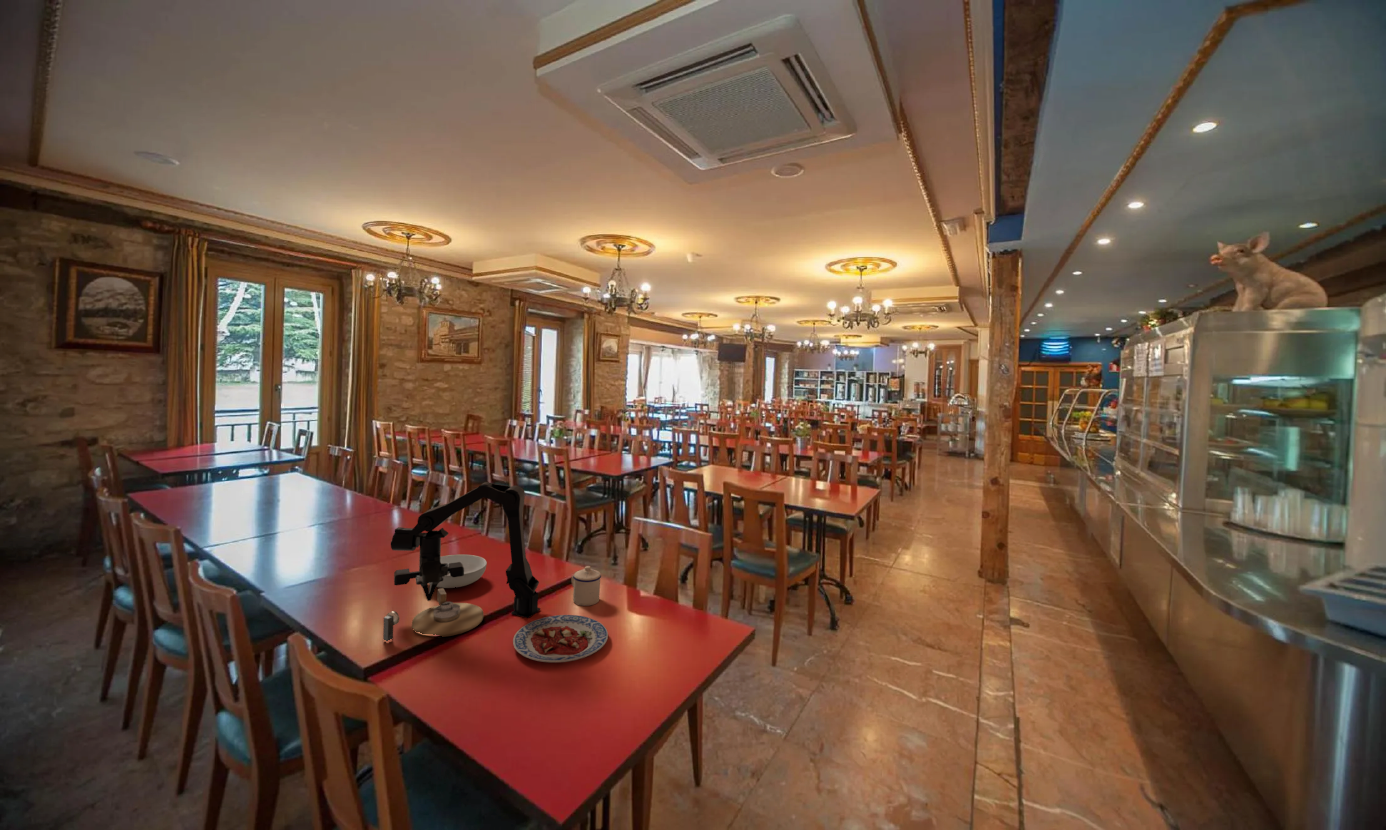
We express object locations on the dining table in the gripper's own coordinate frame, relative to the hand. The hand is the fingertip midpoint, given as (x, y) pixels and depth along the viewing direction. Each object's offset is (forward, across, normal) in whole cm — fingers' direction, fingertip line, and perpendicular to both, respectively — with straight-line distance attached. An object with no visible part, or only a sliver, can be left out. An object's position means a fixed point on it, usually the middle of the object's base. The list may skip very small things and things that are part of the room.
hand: (429, 600), depth 154 cm
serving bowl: (+4, +9, +20) cm, 23 cm away
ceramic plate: (+4, +31, -35) cm, 47 cm away
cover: (+2, +4, -10) cm, 11 cm away
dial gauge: (+4, -11, -15) cm, 19 cm away
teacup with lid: (+4, +46, -11) cm, 47 cm away
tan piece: (+4, +4, -10) cm, 11 cm away
